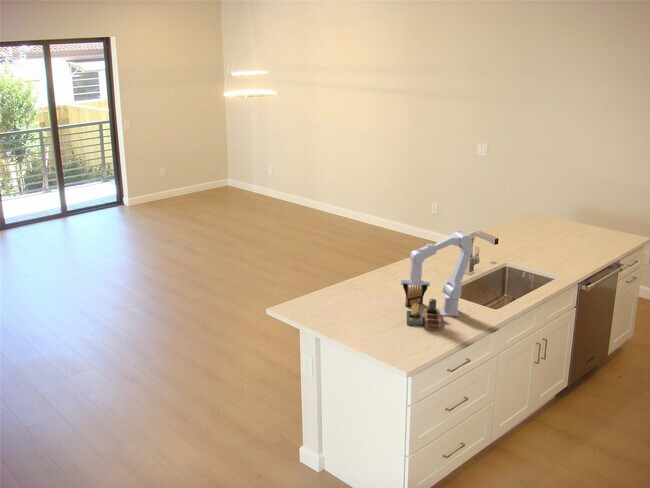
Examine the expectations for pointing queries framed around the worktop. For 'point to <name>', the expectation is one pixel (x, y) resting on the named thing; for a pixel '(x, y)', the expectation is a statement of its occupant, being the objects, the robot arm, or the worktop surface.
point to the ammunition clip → (414, 296)
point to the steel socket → (415, 319)
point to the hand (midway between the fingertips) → (414, 298)
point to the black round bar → (432, 306)
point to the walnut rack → (432, 320)
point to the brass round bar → (415, 310)
